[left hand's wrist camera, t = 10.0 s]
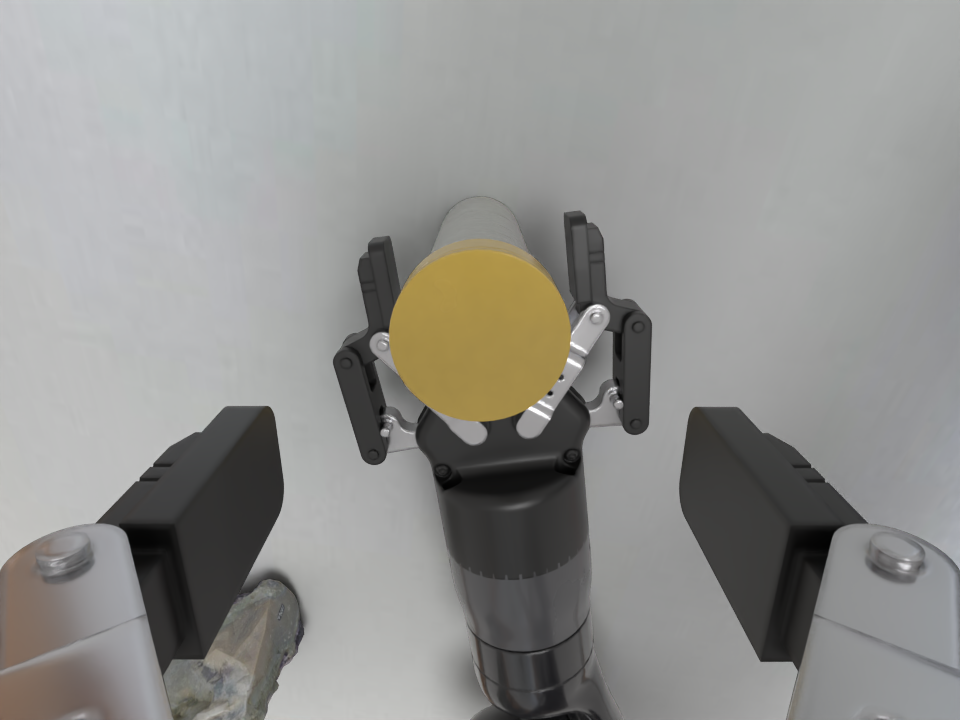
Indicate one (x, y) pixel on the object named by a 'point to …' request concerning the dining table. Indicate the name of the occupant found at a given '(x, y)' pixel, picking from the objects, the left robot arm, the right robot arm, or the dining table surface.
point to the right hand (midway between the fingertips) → (475, 226)
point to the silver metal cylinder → (480, 223)
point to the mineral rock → (239, 659)
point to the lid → (479, 331)
